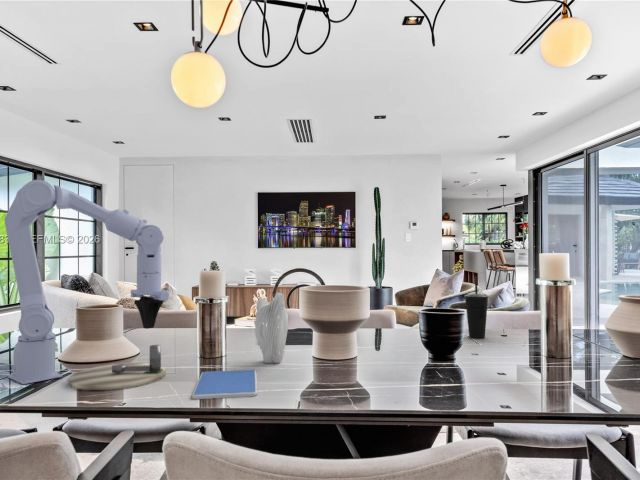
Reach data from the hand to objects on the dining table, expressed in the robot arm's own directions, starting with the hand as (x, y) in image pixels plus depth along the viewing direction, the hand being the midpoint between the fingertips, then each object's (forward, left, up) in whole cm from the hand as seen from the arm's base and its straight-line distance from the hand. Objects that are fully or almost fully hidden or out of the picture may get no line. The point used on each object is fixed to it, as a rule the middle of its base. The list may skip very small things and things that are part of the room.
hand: (148, 327), depth 115 cm
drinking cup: (+48, +89, -10) cm, 102 cm away
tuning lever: (+8, -7, -8) cm, 13 cm away
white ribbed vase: (+21, +22, -10) cm, 32 cm away
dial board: (+5, -10, -9) cm, 15 cm away
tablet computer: (+28, +2, -10) cm, 30 cm away
